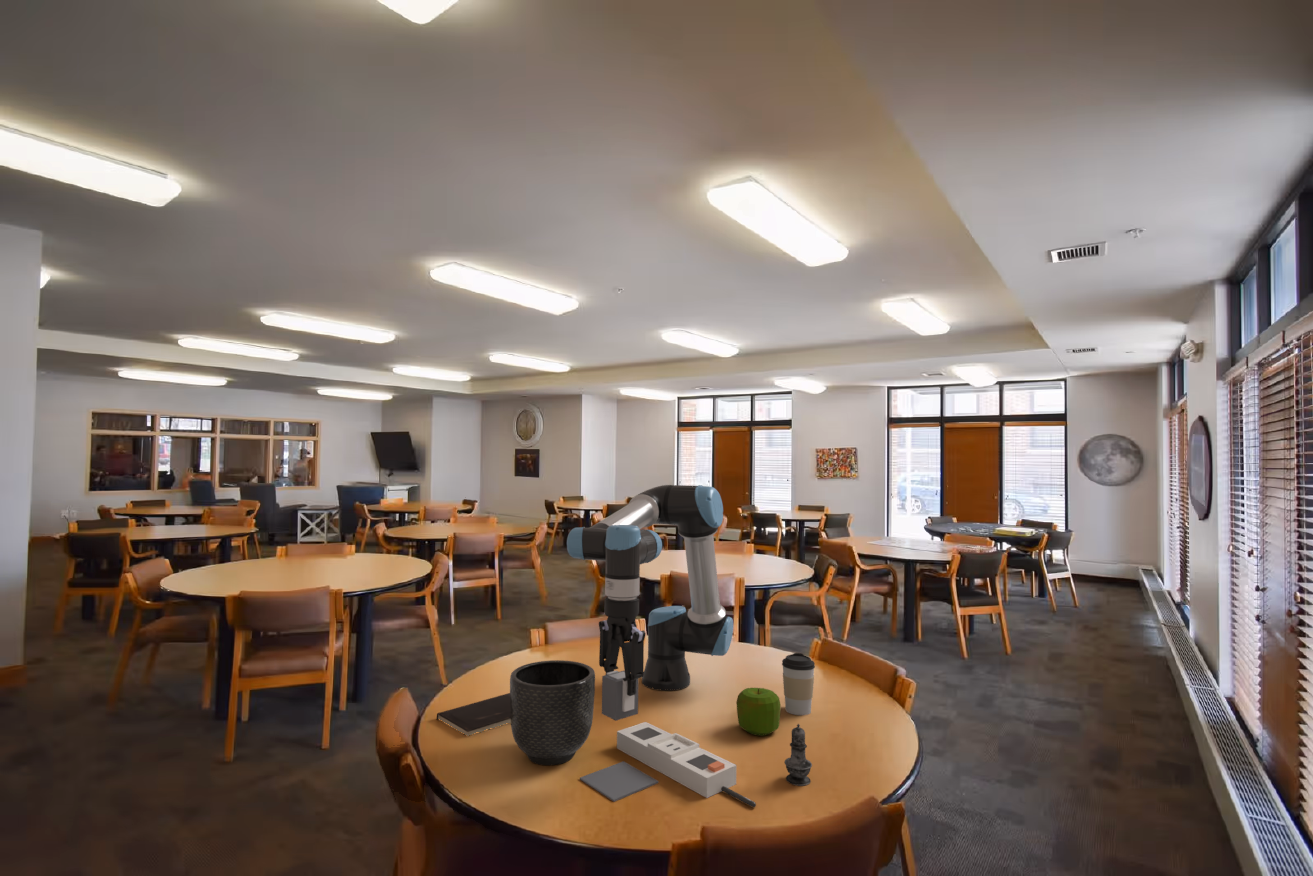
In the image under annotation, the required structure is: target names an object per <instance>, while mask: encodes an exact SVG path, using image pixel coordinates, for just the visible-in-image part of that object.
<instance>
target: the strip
mask: <svg viewBox="0 0 1313 876" xmlns="http://www.w3.org/2000/svg"><path fill="white" fill-rule="evenodd" d="M616 749H617V750H619V751H620V752H623V753H624V754H626V755H628V756H630V757H631V758H634V759H635V760H638V761H639V762H641V763H643V764H644V765H646V766H648V767H650V768H652V769H653V770H655V771H657V772H659V773H661V774H663V775H664V776H666V777H668V778H670V779H671V780H673V781H676V782H677V783H679V784H680V785H682V786H684V787H686V788H688V789H690V790H691V791H694V792H695V793H697V794H699V795H700V796H702V797H704V798H706V799H708V798H710V797H712V796H715V795H716V794H718V793H721V792H724V793H726V794H727V795H729V796H731V797H733V798H735V799H737V800H738V801H740V802H742V803H743V804H746V805H748V806H750V807H751V808H756V806H757V803H756V802H755V801H754V800H751V799H749V798H748V797H746V796H744V795H741V794H740V793H738V792H736V791H734V790H732V789H730V788H731V787H733V786H735V785H737V764H735V763H733V762H731V761H729V760H727V759H725V758H722V757H721V756H718V755H716V754H714V753H712V752H710V751H708V750H706V749H704V748H702V747H700V743H698V742H696V741H694V740H691V739H690V738H687V737H685V736H684V735H681V734H679V733H677V732H675V733H670V732H668V731H666V730H664V729H662V728H660V727H658V726H655V725H653V724H651V723H649V722H646V721H644V722H641V723H638V724H636V725H632V726H629V727H625V728H622V729H619V730H617V731H616Z"/></svg>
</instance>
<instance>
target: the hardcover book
mask: <svg viewBox="0 0 1313 876" xmlns="http://www.w3.org/2000/svg"><path fill="white" fill-rule="evenodd" d="M438 719H440V720H442V721H443V722H445V723H447V724H449V725H450V726H452V727H453V728H455V729H457V730H458V731H460V732H462V733H464V734H465V735H467V736H469V735H472V734H474V733H476V732H481V733H483V732H482V731H484V730H486V729H490V728H494V729H496V728H495V727H497V726H500V725H503V724H506V723H509V724H511V719H510V692H509V693H508V692H507V693H504V694H500V695H496V696H494V697H493V696H492V697H490V698H487V699H483V700H480V701H476V702H473V703H470V704H466V705H465V704H464V705H462V706H458V707H455V708H452V709H451V708H450V709H447V710H445V711H441V712H438V713H436V720H438ZM440 720H439V721H440ZM443 722H442V723H443ZM445 723H444V724H445ZM447 724H446V725H447ZM506 725H507V724H506ZM450 726H449V727H450ZM503 726H504V725H503ZM452 727H451V728H452ZM500 727H501V726H500ZM453 728H452V729H453ZM497 728H498V727H497ZM455 729H454V730H455ZM457 730H456V731H457ZM458 731H457V732H458ZM460 732H459V733H460ZM462 733H461V734H462ZM465 735H464V736H465ZM467 736H466V737H467ZM472 736H473V735H472ZM469 737H470V736H469Z"/></svg>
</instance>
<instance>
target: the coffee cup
mask: <svg viewBox="0 0 1313 876" xmlns="http://www.w3.org/2000/svg"><path fill="white" fill-rule="evenodd" d="M781 661H782V663H781V666H782V681H783V682H782V684H783V685H782V686H783V695H784V704H785V705H784V706H785V707H784V708H785V711H786V712H787V713H788V714H792V715H796V716H808V715H810V714H811V713H812V700H813V697H814V682H815V681H814V680H815V675H814V673H815V672H814V671H815V667H816V665H815V661H814V660H812V659H811V657H810V656H808V655H804V654H803V653H800V652H794V653H792V654H788V655H786V656H785V658H783V659H782V660H781Z"/></svg>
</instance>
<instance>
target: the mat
mask: <svg viewBox="0 0 1313 876" xmlns="http://www.w3.org/2000/svg"><path fill="white" fill-rule="evenodd" d="M579 780H580V781H581V782H583V783H584V784H586V785H587V786H589V787H591V788H592V789H594V790H596V792H597V793H600V794H601V795H602V796H604V797H605V798H607V799H608V800H611V801H612V802H614V803H615V802H617V801H619V800H622V799H624V798H626V797H628V796H631V795H634V794H637V793H638V792H641V791H643V790H645V789H648V788H650V787H652V786H656V785H658V784H659V780H658V779H656V778H654V777H652V776H650V775H648V774H647V773H645V772H643V771H642V770H640V769H638V768H636V767H635V766H633V765H631V764H629V763H627V762H626V761H621V762H618V763H615V764H612V765H609V766H607V767H605V768H602V769H599V770H596V771H594V772H592V773H589V774H586V775H583V776H581V777H579Z"/></svg>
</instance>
